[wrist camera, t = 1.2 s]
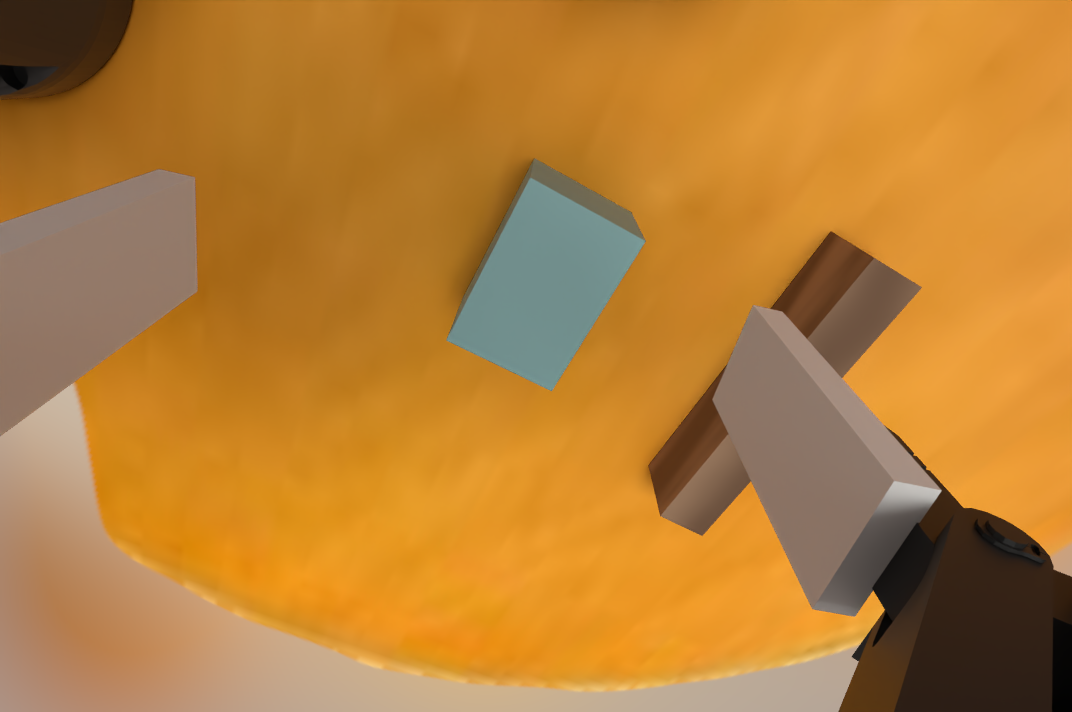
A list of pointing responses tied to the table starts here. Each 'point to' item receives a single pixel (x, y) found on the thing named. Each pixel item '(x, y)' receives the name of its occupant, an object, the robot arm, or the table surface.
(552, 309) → the block
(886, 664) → the robot arm
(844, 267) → the board
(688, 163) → the table surface
